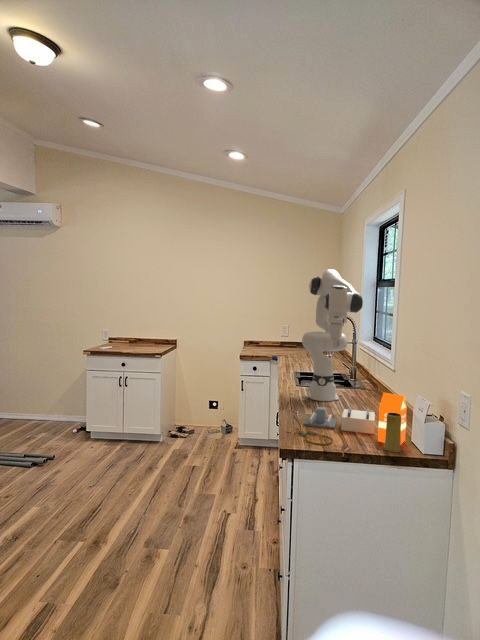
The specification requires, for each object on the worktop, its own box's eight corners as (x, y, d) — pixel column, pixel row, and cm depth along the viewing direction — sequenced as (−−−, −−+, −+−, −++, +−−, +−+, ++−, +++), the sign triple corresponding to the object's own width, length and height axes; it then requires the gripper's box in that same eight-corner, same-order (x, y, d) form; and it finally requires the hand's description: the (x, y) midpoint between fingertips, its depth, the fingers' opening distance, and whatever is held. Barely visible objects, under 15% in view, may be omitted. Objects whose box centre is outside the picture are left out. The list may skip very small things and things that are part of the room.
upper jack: (343, 421, 201) (344, 404, 200) (374, 424, 196) (374, 408, 196) (341, 430, 187) (341, 412, 187) (374, 434, 183) (374, 416, 183)
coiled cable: (324, 433, 184) (324, 429, 184) (337, 446, 168) (337, 441, 168) (297, 433, 182) (297, 429, 182) (307, 447, 167) (308, 442, 167)
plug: (317, 419, 200) (317, 406, 199) (325, 420, 198) (326, 407, 198) (316, 421, 196) (316, 409, 195) (324, 422, 195) (325, 409, 194)
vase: (400, 453, 161) (402, 417, 160) (383, 451, 163) (385, 415, 162) (400, 448, 166) (402, 413, 166) (384, 445, 169) (386, 411, 168)
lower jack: (308, 417, 206) (308, 411, 206) (337, 420, 202) (337, 414, 201) (303, 425, 193) (303, 419, 192) (334, 429, 188) (334, 422, 188)
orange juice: (384, 436, 180) (386, 390, 179) (405, 441, 174) (407, 394, 173) (377, 441, 174) (379, 394, 173) (399, 446, 168) (401, 397, 167)
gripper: (332, 317, 213) (331, 344, 214) (328, 319, 193) (327, 349, 194) (345, 318, 211) (344, 345, 212) (342, 320, 191) (341, 350, 192)
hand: (336, 347), depth 203 cm, fingers open, 8 cm apart
